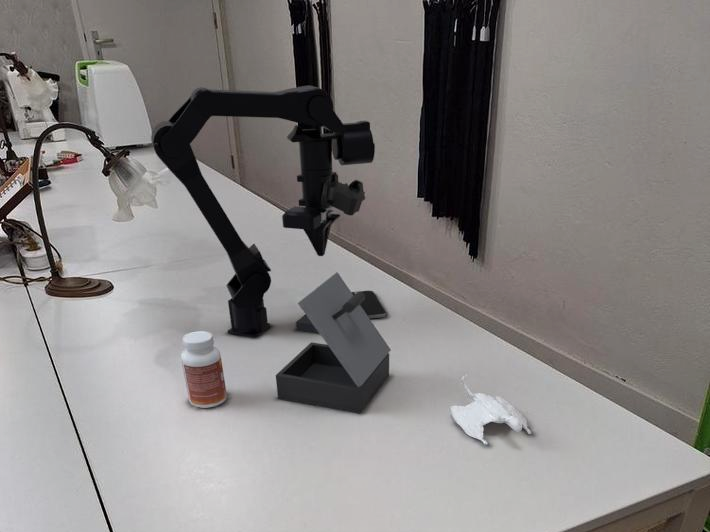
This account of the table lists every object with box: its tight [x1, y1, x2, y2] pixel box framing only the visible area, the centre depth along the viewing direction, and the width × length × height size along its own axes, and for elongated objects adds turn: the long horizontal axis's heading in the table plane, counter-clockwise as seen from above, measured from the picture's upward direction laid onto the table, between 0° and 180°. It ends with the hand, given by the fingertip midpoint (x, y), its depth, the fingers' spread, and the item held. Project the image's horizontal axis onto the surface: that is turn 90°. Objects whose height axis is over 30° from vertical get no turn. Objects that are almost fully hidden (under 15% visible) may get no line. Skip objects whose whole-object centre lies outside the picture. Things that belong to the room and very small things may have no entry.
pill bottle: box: [180, 330, 228, 409], centre depth 104 cm, size 6×6×11 cm
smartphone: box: [351, 290, 387, 320], centre depth 139 cm, size 8×1×15 cm
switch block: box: [295, 313, 319, 334], centre depth 130 cm, size 10×8×4 cm
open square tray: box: [275, 341, 390, 414], centre depth 108 cm, size 15×14×4 cm
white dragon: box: [450, 374, 532, 446], centre depth 99 cm, size 18×10×4 cm, turn 21°
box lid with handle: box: [297, 272, 392, 387], centre depth 101 cm, size 15×14×5 cm
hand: (321, 255), depth 127 cm, fingers closed
